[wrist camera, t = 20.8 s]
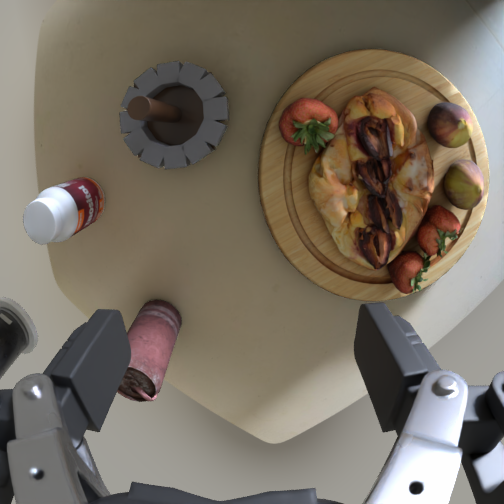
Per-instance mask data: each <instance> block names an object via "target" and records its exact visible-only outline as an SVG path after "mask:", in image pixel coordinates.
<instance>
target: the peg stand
mask: <svg viewBox="0 0 504 504" xmlns="http://www.w3.org/2000/svg"><path fill="white" fill-rule="evenodd" d="M208 73H209V74H210V73H211V72H208ZM209 74H208V75H209ZM211 74H212V73H211ZM212 75H213V74H212ZM134 88H137V89H139V88H138V87H137V85H136V84H135V83H134ZM127 112H128V115H129V116H130V117H131V118H132V119H134V120H141V121H147V126H148V129H149V130H150V131H151V133H152V134H153V136H154V137H155V138H156V140H158V141H160V142H163V143H165V144H167V145H170V146H173V145H182V144H184V143H185V142H186V141H188V140H189V139H191V138H192V137H193V136H195V135H196V134H197V132H198V130H199V128H200V126H201V124H202V122H203V119H204V113H203V101H202V100H201V99H200V97H199V96H198V94H197V93H196V92H195V90H193V89H191V88H188V87H186V86H183V85H179V86H173V87H166V88H165V89H164V90H162V91H161V92H160V93H158V94H157V95H156V96H154V97H153V99H151V98H148V97H145V96H136V97H134V98H133V99H132V100H131V101H130V102H129V104H128V107H127ZM209 144H210V143H209ZM210 145H211V146H212V148H213V149H214V150H216V146H214V145H212V144H210ZM141 155H142V154H141ZM141 155H138V158H140V157H141Z"/></svg>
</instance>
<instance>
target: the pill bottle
mask: <svg viewBox="0 0 504 504" xmlns="http://www.w3.org/2000/svg"><path fill="white" fill-rule="evenodd" d="M104 208H105V196H104V192H103V190H102V188H101V186H100V185H99V184H98V183H97V182H96V181H95V180H93V179H91V178H87V177H81V178H77V179H74V180H71V181H68V182H65V183H62V184H59V185H56V186H53V187H50V188H47V189H45V190H43V191H42V192H41V193H40V194H39V195H38V197H37V198H36V200H34V201H32V202H31V203H29V204H28V205H27V207H26V209H25V211H24V216H23V223H24V227H25V230H26V232H27V233H28V236H29V237H30V238H31V239H32V240H33V241H34V242H36V243H38V244H48V243H50V242H51V241H52V242H62V241H65V240H67V239H68V238H70V237H71V236H73V235H75V234H76V233H78V232H79V231H81V230H82V229H84V228H86V227H87V226H89V225H90V224H92V223H94V222H95V221H96V220H98V219H99V218H100V216H101V215H102V213H103V211H104Z"/></svg>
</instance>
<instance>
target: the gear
mask: <svg viewBox="0 0 504 504" xmlns="http://www.w3.org/2000/svg"><path fill="white" fill-rule="evenodd" d="M208 74H209V73H208V72H207V70H206V69H204V68H202V67H199V66H197V65H194V64H191V63H189V62H185V63H184V65H183V64H182V63H181V62H179V61H175V62H169V63H163V64H158V65H157V71H156V70H155V69H153V68H149V69H148V70H147V71H145V72H144V73H143V74H142V75H140V76H139V77H138V78H137V79H135V80H134V83H135V84H136V85H137V87H138V88H139V89H137V88H134V87H131V86H129V88H128V90H127V93H126V95H125V97H124V99H123V101H122V104H121V107H124V108H126V109H127V107H128V104H129V102H130V101H131V100H132V99H133V98H134V97H136V96H145V97H148V98H151V99H153V97H154V96H156V95H157V94H158V93H160V92H161V91H162V90H164V89H165V88H166V87H173V86H179V85H183V86H186V87H188V88H191V89H193V90H195V92H196V93H197V94H198V96H199V97H200V99H201V100H202V101H203V113H204V119H203V122H202V124H201V126H200V128H199V130H198V132H197V134H196V135H195V136H193V137H192V138H191V139H189V140H188V141H186V142H185V143H184V144H182V145H173V146H170V145H167V144H165V143H163V142H160V141H158V140H156V138H155V137H154V136H153V134H152V133H151V131H150V130H149V129H148V126H147V121H141V120H134V119H132V118H131V117H130V116H129V115H128V112H127V111H123V112H120V127H121V133H130V134H128V135H127V136H126V137H125V138H124V139H123V140H124V141H125V143H126V144H127V146H128V147H129V148H130V150H131V151H132V153H133V154H134V156H136V155H141V154H142V155H141V157H140V160H141V161H143V162H145V163H148V164H150V165H152V166H154V167H156V168H160V167H163V166H164V167H165V169H173V168H182V167H187V166H189V165H191V163H192V164H195V163H197V162H198V161H200V160H201V159H202V158H204V157H205V156H207V155H208V154H210V153H211V152H213V151H214V149H213V148H212V146H211V145H210V144H212V145H214V146H218V145H219V143H220V141H221V139H222V137H223V135H224V133H225V131H226V129H227V127H228V126H227V125H224V124H222V123H220V122H218V121H225V120H229V108H228V99H227V97H221V96H223V95H224V94H226V93H225V91H224V90H223V89H222V87H221V86H220V84H219V83H218V82H217V80H216V79H215V78H214V76H213V75H212V74H211V73H210V74H209V75H208ZM209 143H210V144H209Z"/></svg>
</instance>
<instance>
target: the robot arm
mask: <svg viewBox="0 0 504 504" xmlns="http://www.w3.org/2000/svg"><path fill="white" fill-rule="evenodd" d="M28 345H29V335H28V332H27V329H26V327H25V325H24V324H23V322H22V321H21V320H20V318H19V317H18V316H17V315H16V314H15V313H14V312H13V311H11V310H10V309H8V308H5V307H0V379H1V377H2V376H3V375H4V374H5V372H6V371H7V370H8V369H9V367H10V366H11V365H12V364H13V362H14V361H15V360H16V359H17V357H18V356H19V355H20V354H21V353H22V351H23V350H25V349H26V347H27V346H28ZM354 355H355V359H356V362H357V365H358V367H359V370H360V372H361V375H362V378H363V380H364V383H365V385H366V388H367V391H368V393H369V395H370V398H371V401H372V404H373V406H374V409H375V412H376V415H377V417H378V420H379V423H380V426H381V428H382V431H383V432H388V431H393V430H396V433H397V435H398V437H397V439H396V441H395V443H394V445H393V448H392V450H391V452H390V454H389V456H388V458H387V460H386V462H385V464H384V466H383V468H382V470H381V472H380V474H379V475H378V478H377V479H376V481H375V483H374V485H373V487H372V488H371V490H370V492H369V494H368V495H367V497H366V498H365V500H364V502H363V503H362V504H448V501H449V498H450V495H451V492H452V489H453V486H454V483H455V480H456V476H457V473H458V469H459V466H460V462H462V465H463V468H464V470H465V473H466V476H467V478H468V481H469V483H470V486H471V489H472V492H473V495H474V498H475V501H476V504H504V447H503V445H502V443H501V439H502V438H503V437H504V371H502V372H499V373H497V374H496V375H495V376H494V378H493V380H492V382H491V384H490V386H468V385H467V383H466V381H465V380H464V379H463V378H462V377H461V376H460V375H458V374H456V373H454V372H452V371H449V370H441V368H440V367H439V365H438V364H437V362H436V361H435V359H434V358H433V356H432V355H431V353H430V352H429V350H428V349H427V347H426V346H425V344H424V343H422V340H421V339H420V337H419V336H418V335H417V334H416V331H415V330H414V329H413V327H412V326H411V324H410V323H409V322H407V321H406V320H404V319H403V318H401V317H400V316H393V315H392V313H391V312H390V310H389V309H388V307H387V306H386V305H385V303H383V302H380V303H369V304H362V305H361V306H360V309H359V315H358V321H357V328H356V334H355V340H354ZM130 361H131V347H130V343H129V340H128V336H127V333H126V329H125V326H124V322H123V318H122V315H121V313H120V311H119V310H109V309H98V310H96V312H95V313H94V314H93V315H92V317H91V318H90V319H89V321H88V322H87V323H86V322H85V323H84V324H83V325H81V326H80V327H78V328H77V329H76V330H74V331H73V333H72V334H71V335H70V337H69V338H68V341H66V342H65V343H64V345H63V346H62V349H60V350H59V352H58V353H57V354H56V356H55V357H54V358H53V360H52V361H51V363H50V364H49V365H48V367H47V368H46V370H45V371H44V372H43V374H40V373H36V374H31V375H28V376H26V377H24V378H22V379H21V380H20V381H19V382H18V383H17V384H16V385H15V387H14V389H4V390H0V504H11V502H12V499H13V496H14V495H15V500H16V504H343V503H339V502H336V501H331V500H326V499H317V496H316V489H315V488H310V489H301V490H287V491H269V492H265V493H260V494H257V495H252V496H247V497H242V498H237V499H232V500H226V501H215V500H211V499H208V498H204V497H200V496H197V495H194V494H191V493H187V492H184V491H181V490H178V489H175V488H170V487H162V486H155V485H149V484H143V483H136V482H132V483H131V487H130V490H129V492H125V493H117V494H113V495H111V494H110V492H109V491H108V490H107V488H106V486H105V485H104V483H103V481H102V478H101V476H100V474H99V471H98V469H97V467H96V464H95V462H94V459H93V457H92V454H91V452H90V449H89V446H88V444H87V441H86V439H85V438H84V436H83V435H84V433H85V431H86V430H92V431H96V432H100V430H101V427H102V425H103V422H104V420H105V418H106V415H107V413H108V411H109V408H110V406H111V404H112V402H113V399H114V397H115V395H116V393H117V390H118V388H119V386H120V384H121V381H122V379H123V377H124V375H125V373H126V370H127V368H128V366H129V364H130Z"/></svg>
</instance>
